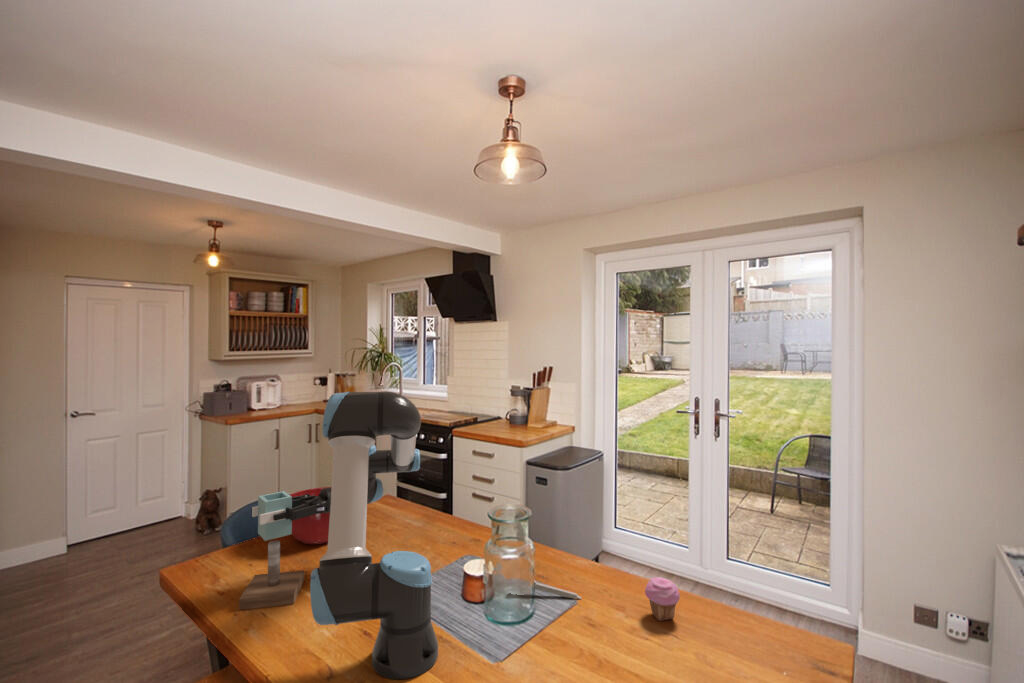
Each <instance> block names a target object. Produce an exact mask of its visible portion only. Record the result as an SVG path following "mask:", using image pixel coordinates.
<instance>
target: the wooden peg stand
mask: <svg viewBox="0 0 1024 683" xmlns="http://www.w3.org/2000/svg"><path fill="white" fill-rule="evenodd" d="M304 581H305V570H295V571H282V572H281V541H280V540H271V541H269V542H268V543H267V573H262V574H261V573H260V574H255V575H254V576H253V577H252V579H251V580H250V582H249V583H248V585H247V586H246V588H245V589H244V591H243V593H242V594H241V596H240V597H239V598H238V599H239V600H238V610H240V611H241V610H248V609H249V610H250V609H260V608H269V607H277V606H278V607H279V606H288V605H294V604H295V603H296V602H295V601H296V600H297V597H298V595H299V593H300V590H301V588H302V586H303V584H304Z"/></svg>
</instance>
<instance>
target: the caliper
mask: <svg viewBox="0 0 1024 683" xmlns="http://www.w3.org/2000/svg"><path fill="white" fill-rule="evenodd" d="M533 580H534V579H533ZM535 590H538V591H542V592H546V593H549V594H554V595H557V596H560V597H564V598H567V599H570V598H573V600H582V596H580V595H578V593H576V592H573V591H569V590H565V589H561V588H558V587H554V586H551V585H547V584H544V583H540V582H537V581H536V580H534V591H535Z"/></svg>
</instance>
